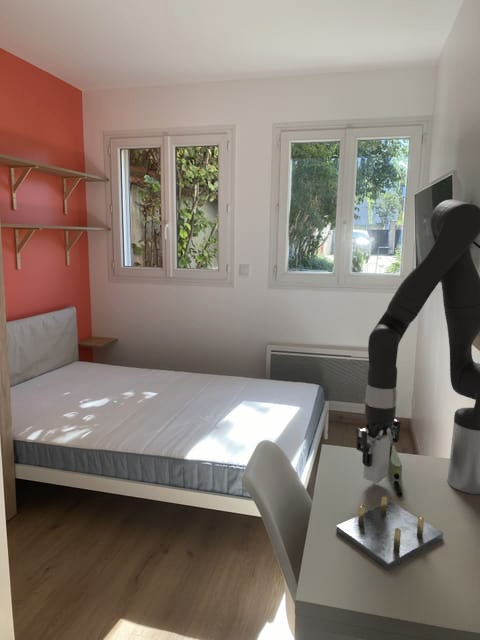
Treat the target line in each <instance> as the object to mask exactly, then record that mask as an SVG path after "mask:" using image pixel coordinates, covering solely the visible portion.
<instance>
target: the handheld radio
mask: <svg viewBox="0 0 480 640" xmlns="http://www.w3.org/2000/svg"><path fill="white" fill-rule="evenodd" d="M402 471H403V465H402V462H401V460H400V457H399V455H398V452H397V449H396V447H395V444H394V445H393V446H392V455H391V459H389V468H388V475H387V476H388V479H389V482H390V485H391V487H394V488H395V491H396V494H397V497H399V498H401V497H402V496H403V495H404V494H403V491H402V489H401V486H402V473H403V472H402Z"/></svg>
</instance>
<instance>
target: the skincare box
mask: <svg viewBox="0 0 480 640" xmlns="http://www.w3.org/2000/svg"><path fill="white" fill-rule="evenodd" d="M367 439H368V440H370V441H373V440H374V438H372V437H370V436H369V435H368V437H367ZM390 442H391V441H390V440H389V436H388V435H383V436H381V437H380V438H379V439H377V440H376V446H375V447H374V448H373V450H372V462H371V466H370V467H367V466H365V465H364V464H363V479H365V480H367V481H370V482H372V483H375V484H379V483H380V482H381V481H382V480H384V478H386V477H387V476H388V468H389V455H390ZM369 446H370V444H369V443H367V448H369Z"/></svg>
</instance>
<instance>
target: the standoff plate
mask: <svg viewBox="0 0 480 640" xmlns="http://www.w3.org/2000/svg"><path fill="white" fill-rule="evenodd" d="M365 510H366V509H365V505H359V506H358V515H357V516H355V517H353V518H351V519H348V520H346V521H344V522H342V523H339V524H337V525H336V533H337V534H339V536H341V537H343V538H344V539H345V540H347V541H349V542H350V544H352V545H353V546H354V547H356V548H358V549H359V550H360V551H361V552H362V553H364V554H366V555H367V556H368V557H370V558H371V559H372V560H373V561H374V562H376V563H377V564H379V565H380V566H381V567H383V568H384V569H386V570H387V571H390V570H392V569H393V568H394V567H397V566H399V564H402V563H403V562H405V561H407V560H409V559H410V558H412V557H414V556H416V555H418V554H419V553H421V552H423V551H424V550H427V549H428V548H429V547H431V546H433V545H435V544H436V543H439V542H441V541H442V540H444V539H443V538H444V532H443V531H442V530H440V529H438V528H436V527H435V526H432V525H431V524H429V523H427V522H426V521H425V518H424V517H422V516H418V517H417V515H414V514H412V513H411V512H409V511H408V510H405V508H404V509H403V508H402V507H401V506H399V505H397V504H395V503H394V502H392V501H389V502H388V496H387V495H381V504H380V506H377V507H375V508H373V509H371V510H369V511H366V512H365Z"/></svg>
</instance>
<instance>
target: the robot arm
mask: <svg viewBox="0 0 480 640" xmlns="http://www.w3.org/2000/svg"><path fill="white" fill-rule="evenodd" d="M430 228H431V229H430V230H431V233H432V236H433V241H434V243H433V246H432V248H430V250H429V252H428V253H427V255H426V256H425V257H424V259H423V260H421V262H420V263H419V264H418V265H417V266H416V267H415V268H413V270H412V271H411V272H410V273H409V274H408V275H407V276H406V277H405V278H404V280H403V281H402V282H401V283H400V285H399V286H398V288H397V290H396V291H395V293H394V295H393V296H392V298H391V299H390V301H389V303H388V306H387V308H386V310H385V312H384V313H383V315H382V316H381V318H380V319H379V321H378V323H377V324H376V325H375V327H374V328H373V330H372V331H371V333H370V334H369V336H368V348H367V349H368V350H367V352H368V354H367V355H368V356H367V357H368V369H367V384H366V389H365V390H366V391H365V400H364V401H365V403H364V418H365V420H366V424H365V427H364V428H360V427H358V428H357V429H356V450H357V451H359V452H360V453H362V461H361V462H362V464H363V466H364V465H365V466H367V467H370V466H371V462H372V450H373V448H374V447H375V446H376V440H377V439H379V438H380V437H381V436H383V435H388V436H389V440H390V441H391V442H390V455H389V459H391V455H392V446H393V445H394V446H395V443H396V444H397V443H398V442H399V441H400V432H401V423H402V422H401V421H400V420H398V419H396V411H397V396H398V392H397V385H398V383H397V382H398V368H397V359H398V352H399V351H398V350H399V344H400V343H401V340H402V339H403V337H404V335H405V333H406V332H407V330H408V329H409V327H410V324H411V323H412V322H414V320H415V319H416V318H417V316H418V315H419V314H420V312H421V310H422V309H423V307H424V305H425V304H426V302H427V301H428V299H429V298H430V296H431V294H432V293H433V291H434V290H435V289H436V287H437V286H438V284H439V283H441V289H442V300H443V301H442V302H443V308H444V315H445V316H444V317H445V320H446V326H447V327H446V328H447V336H448V347H449V377H450V385H451V387H452V389H453V391H454V392H455V393H456V394H458V395H460V396H463V397H464V398H465V397H466V398H468V399H473V400H475V401H474V402H475V403H474V405H473V407H461V408H458V409H456V410H455V412H454V416H453V426H452V434H451V435H452V436H451V444H450V452H449V453H450V454H449V462H448V463H449V464H448V470H447V471H448V473H447V483H448V484H449V485H450V486H451V488H454V489H455V490H456V491H457V490H458V491H460V492H462V493H466V494H472V495H480V363H479V362H475V361H474V358H473V354H472V353H473V352H472V348H473V347H472V346H473V343H474V341H475V340H476V338H477V337H478V336H479V334H480V274H479V272H478V270H477V267H476V266H475V263H474V261H473V257H472V252H471V245H472V244H473V243H474V241H475V240H476V239H477V237H479V235H480V206H478V205H476V204H474V203H471V202H467V201H464V200H459V199H446V200H443V201H442V202H440V203H438V205H437V206H436V207H435V208H434V210H433V211H432V214H431V217H430ZM368 435H369V436H370V437H372V438H374V440H373V441H370V440H368V439H367V437H368ZM367 443H369V444H370V446H369V448H367Z"/></svg>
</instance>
